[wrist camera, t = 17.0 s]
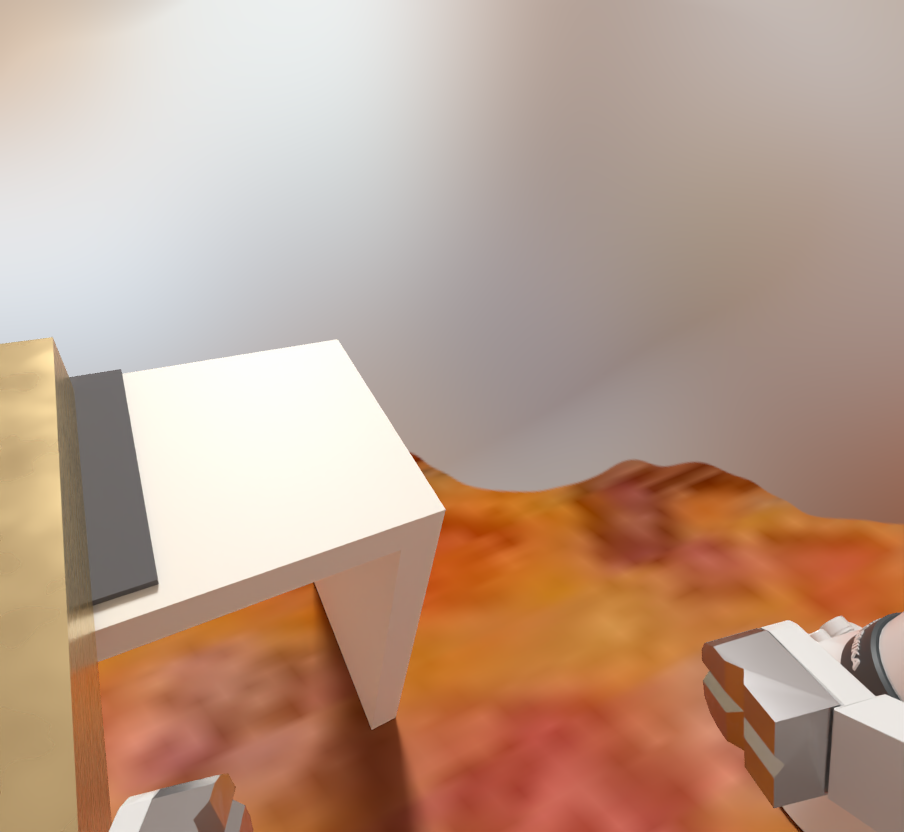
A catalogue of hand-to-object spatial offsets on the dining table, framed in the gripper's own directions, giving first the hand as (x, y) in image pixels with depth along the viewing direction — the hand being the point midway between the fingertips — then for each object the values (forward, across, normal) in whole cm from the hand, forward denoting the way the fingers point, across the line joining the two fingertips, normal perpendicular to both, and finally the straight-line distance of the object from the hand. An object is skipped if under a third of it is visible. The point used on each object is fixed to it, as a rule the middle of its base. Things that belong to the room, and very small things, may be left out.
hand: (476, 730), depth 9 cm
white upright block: (+27, +19, +22) cm, 39 cm away
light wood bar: (+10, +14, +1) cm, 17 cm away
